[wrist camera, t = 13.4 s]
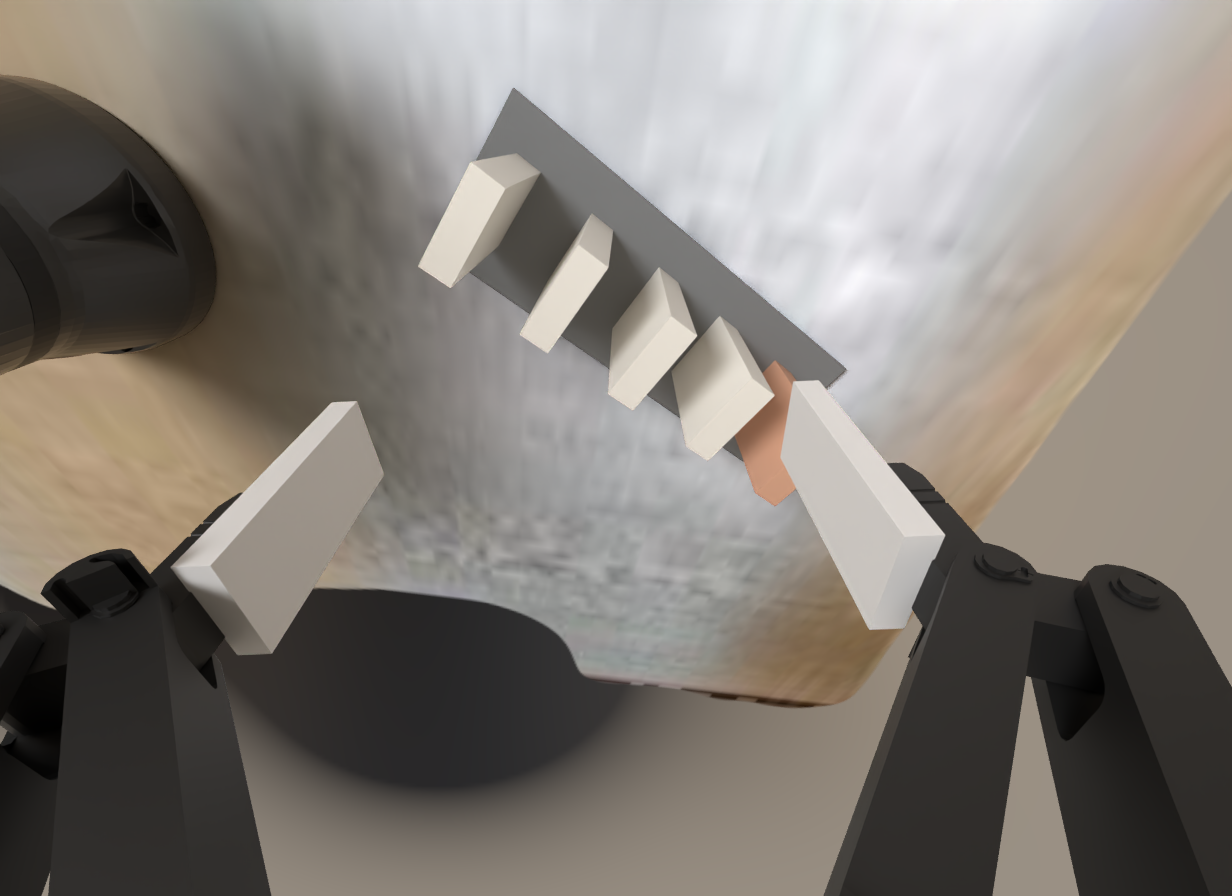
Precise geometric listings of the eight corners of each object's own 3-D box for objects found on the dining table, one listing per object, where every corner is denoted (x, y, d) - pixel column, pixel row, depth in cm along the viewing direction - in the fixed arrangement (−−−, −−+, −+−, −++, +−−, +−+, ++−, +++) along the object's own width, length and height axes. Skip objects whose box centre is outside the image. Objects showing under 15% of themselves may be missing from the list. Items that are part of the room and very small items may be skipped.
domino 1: (475, 229, 30) (417, 266, 22) (517, 153, 28) (470, 161, 20) (498, 246, 31) (450, 288, 22) (540, 172, 29) (505, 188, 20)
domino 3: (612, 328, 34) (607, 393, 25) (658, 266, 31) (671, 315, 23) (631, 342, 34) (633, 410, 26) (678, 282, 32) (697, 336, 23)
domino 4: (671, 371, 35) (685, 446, 27) (719, 315, 33) (752, 378, 25) (688, 383, 36) (707, 461, 27) (737, 329, 34) (774, 395, 25)
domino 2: (547, 281, 32) (519, 334, 24) (591, 213, 30) (578, 244, 21) (568, 296, 32) (547, 353, 24) (613, 230, 30) (608, 267, 22)
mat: (434, 245, 31) (432, 246, 31) (514, 88, 27) (513, 87, 27) (744, 460, 40) (745, 462, 39) (843, 366, 35) (846, 369, 35)
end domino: (725, 410, 37) (755, 493, 28) (775, 360, 35) (823, 433, 26) (741, 421, 37) (774, 506, 29) (791, 372, 35) (843, 448, 27)
